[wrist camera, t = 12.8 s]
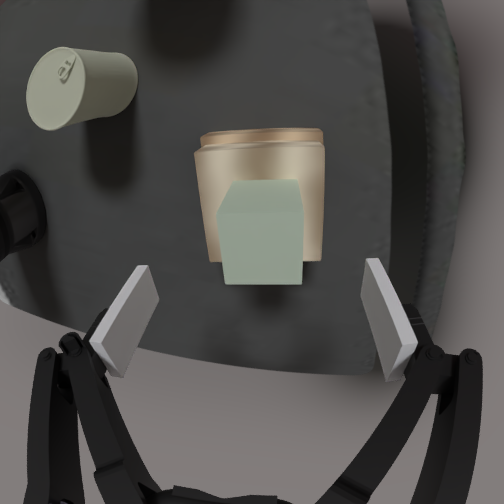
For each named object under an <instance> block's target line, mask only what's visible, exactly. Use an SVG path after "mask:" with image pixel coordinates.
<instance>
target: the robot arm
mask: <svg viewBox="0 0 504 504" xmlns="http://www.w3.org/2000/svg"><path fill="white" fill-rule="evenodd" d="M45 227H46V214H45V208H44V204H43V201H42V198H41V195H40V193H39V191H38V189H37V187H36V186H35V184H34V183H33V181H32V180H31V179H30V178H29V177H28V176H27V175H26V174H25V173H23V172H22V171H19V170H11V171H9V172H7V173H5V174H3V175H1V176H0V262H1V261H2V260H3V259H4V258H5V257H6V256H7V255H8V254H11V253H14V252H17V251H20V250H23V249H26V248H29V247H31V246H33V245H34V244H35V243H36V242H38V241H39V240H40V239H41V238H42V236H43V234H44V231H45ZM360 296H361V299H362V302H363V305H364V308H365V311H366V315H367V318H368V321H369V324H370V327H371V330H372V334H373V337H374V340H375V344H376V347H377V350H378V354H379V358H380V361H381V365H382V368H383V372H384V376H385V380H386V382H391V381H398V380H401V378H402V376H403V374H404V375H405V378H406V380H405V382H404V384H403V386H402V388H401V389H400V391H399V393H398V394H397V396H396V398H395V399H394V401H393V403H392V404H391V406H390V408H389V409H388V411H387V413H386V414H385V416H384V417H383V419H382V420H381V422H380V423H379V425H378V426H377V428H376V429H375V431H374V432H373V434H372V435H371V437H370V438H369V439H368V441H367V442H366V443H365V445H364V446H363V448H362V449H361V450H360V452H359V453H358V454H357V456H356V457H355V458H354V459H353V461H352V462H351V463H350V465H349V466H348V467H347V468H346V470H345V471H344V472H343V473H342V474H341V476H340V477H339V478H338V479H337V480H336V481H335V482H334V484H333V485H332V486H331V487H330V488H329V489H328V490H327V492H325V494H324V495H323V496H322V497H321V498H320V499H319V500H318V501H317V502H316V503H315V504H367V502H368V501H369V499H370V496H371V495H372V493H373V492H374V490H375V489H376V487H377V486H378V485H379V483H380V482H381V481H382V479H383V478H384V476H385V475H386V473H387V472H388V470H389V469H390V467H391V466H392V464H393V463H394V461H395V460H396V458H397V456H398V455H399V453H400V452H401V450H402V448H403V447H404V445H405V443H406V442H407V440H408V438H409V436H410V435H411V433H412V431H413V429H414V427H415V426H416V424H417V422H418V420H419V418H420V416H421V414H422V412H423V410H424V408H425V406H426V404H427V402H428V400H429V398H430V395H431V394H438V401H437V407H436V413H435V418H434V423H433V428H432V432H431V437H430V441H429V445H428V449H427V453H426V457H425V460H424V464H423V467H422V471H421V474H420V477H419V480H418V483H417V486H416V489H415V492H414V495H413V497H412V500H411V503H410V504H465V503H466V500H467V496H468V492H469V488H470V484H471V480H472V475H473V471H474V465H475V460H476V454H477V448H478V440H479V432H480V423H481V411H482V389H483V368H482V367H483V366H482V357H481V356H480V354H479V353H478V352H477V351H476V350H473V349H465V350H463V351H462V352H461V353H460V355H451V354H445V353H444V351H443V350H442V348H440V347H439V346H437V345H434V344H433V341H432V339H431V337H430V335H429V333H428V331H427V328H426V326H425V324H424V322H423V320H422V318H421V316H420V314H419V312H418V310H417V309H416V308H415V307H414V306H413V305H412V304H411V303H410V304H401V303H400V301H399V299H398V297H397V294H396V292H395V290H394V288H393V286H392V284H391V282H390V280H389V278H388V276H387V274H386V272H385V270H384V268H383V266H382V264H381V262H380V261H379V259H378V258H369V259H366V263H365V270H364V277H363V283H362V289H361V295H360ZM158 301H159V297H158V294H157V291H156V288H155V285H154V282H153V279H152V276H151V273H150V270H149V266H148V265H142V266H137V267H136V269H135V270H134V272H133V273H132V275H131V276H130V278H129V279H128V281H127V282H126V284H125V285H124V287H123V288H122V290H121V291H120V293H119V294H118V296H117V297H116V299H115V300H114V302H113V303H112V305H111V306H110V308H109V309H106V308H105V309H104V310H103V311H102V312H101V313H100V314H99V315H98V316H97V318H96V319H95V322H94V323H93V324H92V327H90V329H89V331H88V332H87V334H86V335H85V337H84V339H83V340H82V339H81V338H80V336H79V335H78V334H77V333H76V332H70V333H67V334H66V335H64V336H63V337H62V338H61V340H60V341H59V347H60V348H61V349H62V351H63V353H59V354H57V352H56V351H55V350H54V349H53V348H51V347H50V348H46V349H44V350H43V351H41V352H40V354H39V356H38V359H37V364H36V369H35V375H34V381H33V388H32V395H31V403H30V414H29V424H28V443H27V477H28V485H27V489H26V493H25V498H24V503H23V504H85V499H84V490H83V483H82V475H81V466H80V456H79V443H78V417H77V410H78V414H79V418H80V421H81V425H82V428H83V432H84V435H85V438H86V441H87V444H88V447H89V450H90V453H91V456H92V458H93V461H94V464H95V467H96V471H95V472H94V478H95V481H96V484H97V486H98V489H99V491H100V493H101V495H102V498H103V500H104V502H105V504H292V503H290V502H287V501H284V500H280V499H277V496H264V495H263V496H262V495H247V496H241V497H233V498H225V499H224V498H219V497H216V496H213V495H211V494H208V493H205V492H203V491H200V490H197V489H192V488H186V487H181V486H175V485H174V487H173V489H170V490H164V491H162V490H161V489H160V487H159V486H158V485H157V484H156V482H155V481H154V480H153V479H152V477H151V476H150V474H149V472H148V470H147V469H146V467H145V465H144V463H143V461H142V459H141V457H140V455H139V453H138V452H137V449H136V447H135V445H134V443H133V441H132V439H131V437H130V434H129V432H128V430H127V428H126V426H125V423H124V421H123V419H122V416H121V414H120V412H119V409H118V406H117V404H116V402H115V399H114V397H113V394H112V391H111V388H110V386H109V383H108V380H107V378H106V376H105V372H106V370H108V372H109V373H110V375H111V376H115V377H120V378H123V377H124V374H125V372H126V370H127V368H128V365H129V363H130V361H131V359H132V356H133V354H134V352H135V350H136V348H137V346H138V343H139V341H140V339H141V337H142V335H143V333H144V330H145V328H146V326H147V324H148V322H149V320H150V318H151V316H152V314H153V312H154V310H155V308H156V305H157V303H158Z"/></svg>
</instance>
